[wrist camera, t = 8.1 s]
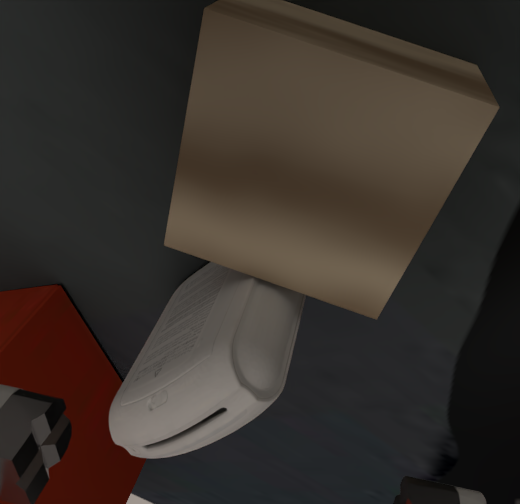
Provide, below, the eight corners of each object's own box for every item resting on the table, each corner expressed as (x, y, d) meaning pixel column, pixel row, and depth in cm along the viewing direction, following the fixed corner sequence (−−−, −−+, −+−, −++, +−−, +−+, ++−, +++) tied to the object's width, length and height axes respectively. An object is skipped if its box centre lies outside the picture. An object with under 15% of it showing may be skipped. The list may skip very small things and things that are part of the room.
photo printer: (211, 326, 35) (140, 492, 25) (168, 286, 34) (74, 445, 24) (325, 260, 30) (290, 438, 20) (278, 210, 28) (216, 373, 18)
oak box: (244, -14, 22) (204, 8, 17) (476, 63, 22) (499, 107, 17) (201, 189, 29) (163, 245, 24) (379, 250, 29) (376, 319, 24)
